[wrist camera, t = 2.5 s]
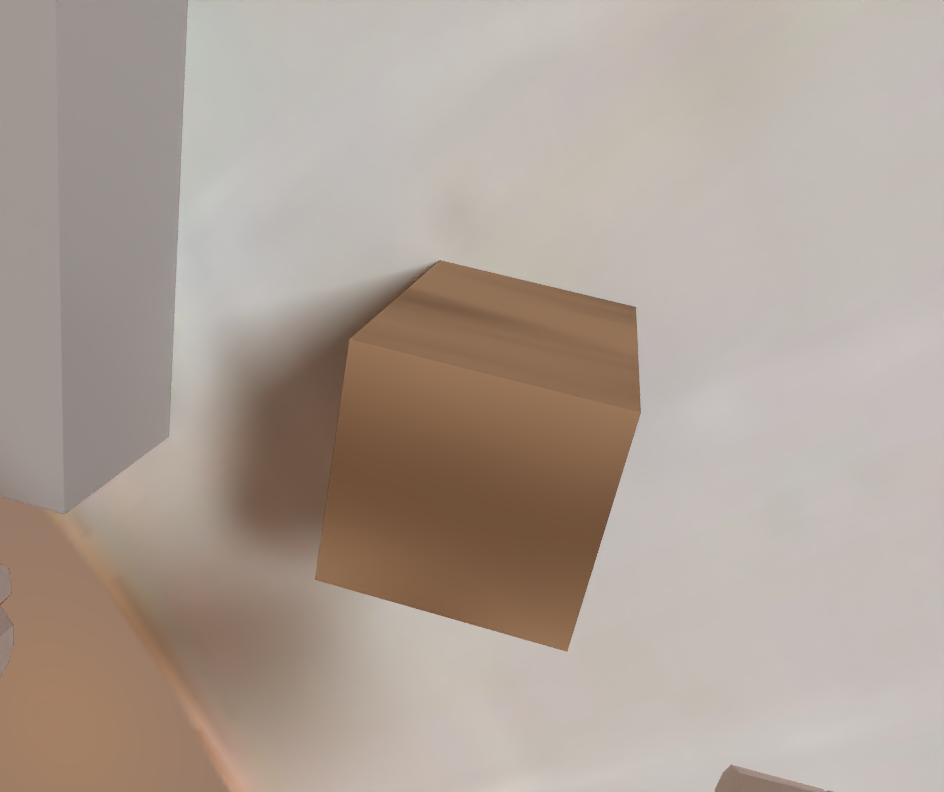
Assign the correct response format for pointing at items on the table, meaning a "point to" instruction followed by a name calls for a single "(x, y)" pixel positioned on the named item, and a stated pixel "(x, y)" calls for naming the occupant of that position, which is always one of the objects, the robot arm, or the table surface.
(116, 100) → the plate
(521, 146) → the table surface
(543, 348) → the walnut block
